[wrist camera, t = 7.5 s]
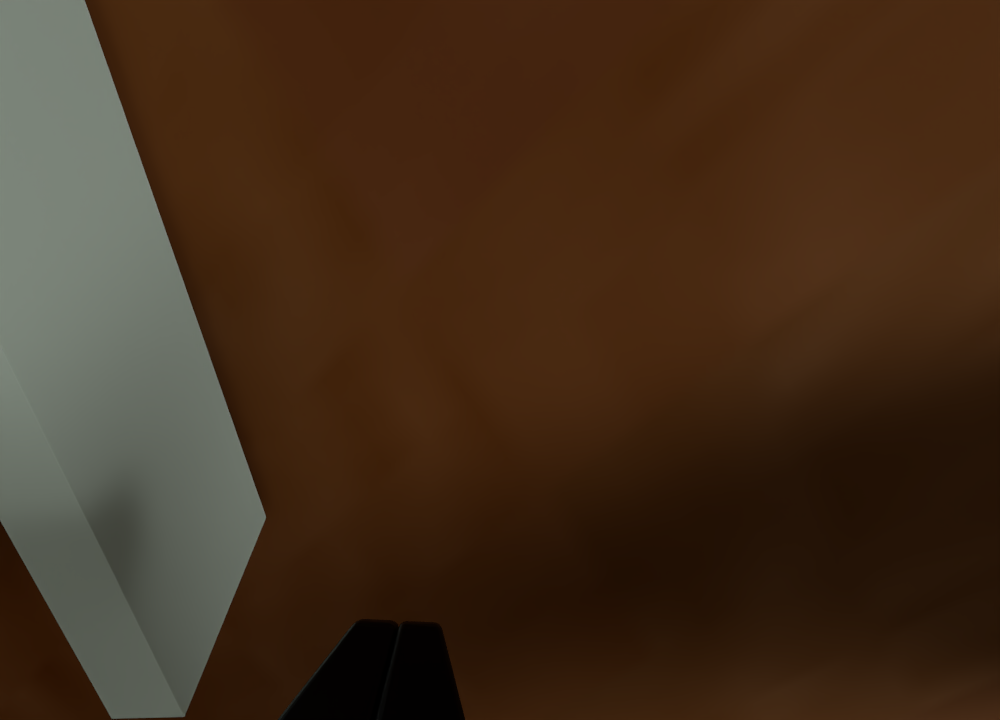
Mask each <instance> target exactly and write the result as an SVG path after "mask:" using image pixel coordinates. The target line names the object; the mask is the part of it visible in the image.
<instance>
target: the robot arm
mask: <svg viewBox="0 0 1000 720" xmlns="http://www.w3.org/2000/svg"><path fill="white" fill-rule="evenodd" d="M278 720H465V717H464V713H463V709H462V705H461V702H460V698H459V694H458V690H457V686H456V682H455V678H454V674H453V670H452V666H451V662H450V658H449V654H448V650H447V646H446V642H445V638H444V634H443V631H442V628H441V626H440V625H439V624H437V623H434V622H413V621H406V622H403V623H401V624H400V626H398V624H397V623H396V622H394V621H391V620H372V619H362V620H359V621H357V622H355V623H354V624H353V625H352V626H351V627H350V629H349V630H348V631H347V632H346V634H345V635H344V636H343V638H342V639H341V640H340V641H339V643H338V644H337V645H336V646H335V648H334V649H333V650H332V652H331V653H330V654H329V655H328V657H327V658H326V659H325V660H324V662H323V663H322V664H321V665H320V667H319V668H318V669H317V671H316V672H315V673H314V674H313V676H312V677H311V678H310V679H309V681H308V682H307V683H306V685H305V686H304V687H303V688H302V690H301V691H300V692H299V693H298V695H297V696H296V697H295V698H294V700H293V701H292V702H291V704H290V705H289V706H288V707H287V709H286V710H285V711H284V712H283V714H282V715H281V716H280V718H279V719H278Z"/></svg>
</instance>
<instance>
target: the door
mask: <svg viewBox="0 0 1000 720" xmlns="http://www.w3.org/2000/svg"><path fill="white" fill-rule="evenodd" d="M265 519H266V515H265V513H264V510H263V507H262V504H261V501H260V498H259V496H258V493H257V490H256V487H255V484H254V481H253V478H252V476H251V473H250V470H249V467H248V464H247V461H246V458H245V456H244V453H243V450H242V447H241V444H240V441H239V439H238V436H237V433H236V430H235V427H234V424H233V421H232V419H231V416H230V413H229V410H228V407H227V404H226V402H225V399H224V396H223V393H222V390H221V387H220V384H219V382H218V379H217V376H216V373H215V370H214V367H213V365H212V362H211V359H210V356H209V353H208V350H207V347H206V345H205V342H204V339H203V336H202V333H201V330H200V328H199V325H198V322H197V319H196V316H195V313H194V310H193V308H192V305H191V302H190V299H189V296H188V293H187V290H186V288H185V285H184V282H183V279H182V276H181V273H180V271H179V268H178V265H177V262H176V259H175V256H174V253H173V251H172V248H171V245H170V242H169V239H168V236H167V234H166V231H165V228H164V225H163V222H162V219H161V216H160V214H159V211H158V208H157V205H156V202H155V199H154V197H153V194H152V191H151V188H150V185H149V182H148V179H147V177H146V174H145V171H144V168H143V165H142V162H141V159H140V157H139V154H138V151H137V148H136V145H135V142H134V140H133V137H132V134H131V131H130V128H129V125H128V122H127V120H126V117H125V114H124V111H123V108H122V105H121V103H120V100H119V97H118V94H117V91H116V88H115V85H114V83H113V80H112V77H111V74H110V71H109V68H108V66H107V63H106V60H105V57H104V54H103V51H102V48H101V46H100V43H99V40H98V37H97V34H96V31H95V29H94V26H93V23H92V20H91V17H90V14H89V11H88V9H87V6H86V3H85V0H0V521H1V523H2V525H3V526H4V528H5V530H6V532H7V534H8V535H9V537H10V539H11V541H12V542H13V544H14V546H15V548H16V550H17V551H18V553H19V555H20V557H21V558H22V560H23V562H24V564H25V566H26V567H27V569H28V571H29V573H30V574H31V576H32V578H33V580H34V582H35V583H36V585H37V587H38V589H39V590H40V592H41V594H42V596H43V598H44V599H45V601H46V603H47V605H48V606H49V608H50V610H51V612H52V614H53V615H54V617H55V619H56V621H57V622H58V624H59V626H60V628H61V630H62V631H63V633H64V635H65V637H66V638H67V640H68V642H69V644H70V646H71V647H72V649H73V651H74V653H75V654H76V656H77V658H78V660H79V662H80V663H81V665H82V667H83V669H84V670H85V672H86V674H87V676H88V678H89V679H90V681H91V683H92V685H93V686H94V688H95V690H96V692H97V694H98V695H99V697H100V699H101V701H102V702H103V704H104V706H105V708H106V710H107V711H108V713H109V715H110V717H111V718H112V719H119V718H161V717H185V714H186V712H187V709H188V707H189V704H190V702H191V699H192V697H193V695H194V692H195V690H196V687H197V685H198V682H199V680H200V678H201V675H202V673H203V670H204V668H205V665H206V663H207V660H208V658H209V656H210V653H211V651H212V648H213V646H214V643H215V641H216V639H217V636H218V634H219V631H220V629H221V626H222V624H223V621H224V619H225V617H226V614H227V612H228V609H229V607H230V604H231V602H232V600H233V597H234V595H235V592H236V590H237V587H238V585H239V582H240V580H241V578H242V575H243V573H244V570H245V568H246V565H247V563H248V560H249V558H250V556H251V553H252V551H253V548H254V546H255V543H256V541H257V539H258V536H259V534H260V531H261V529H262V526H263V524H264V521H265Z"/></svg>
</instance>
